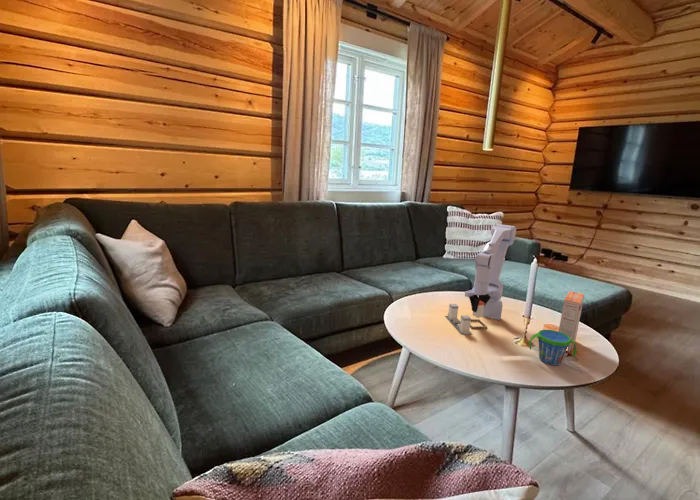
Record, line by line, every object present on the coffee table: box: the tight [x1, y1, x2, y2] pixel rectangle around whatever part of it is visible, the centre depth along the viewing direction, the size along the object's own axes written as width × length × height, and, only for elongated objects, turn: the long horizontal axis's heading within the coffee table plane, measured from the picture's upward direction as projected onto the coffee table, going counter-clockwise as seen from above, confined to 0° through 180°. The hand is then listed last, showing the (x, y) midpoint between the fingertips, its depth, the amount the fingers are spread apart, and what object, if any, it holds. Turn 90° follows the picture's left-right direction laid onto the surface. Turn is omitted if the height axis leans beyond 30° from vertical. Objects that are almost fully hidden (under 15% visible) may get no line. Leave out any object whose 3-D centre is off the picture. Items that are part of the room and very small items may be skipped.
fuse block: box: [444, 315, 473, 336], centre depth 165 cm, size 5×19×2 cm, turn 7°
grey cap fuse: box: [447, 303, 459, 320], centre depth 170 cm, size 3×3×6 cm
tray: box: [470, 318, 488, 330], centre depth 166 cm, size 7×8×2 cm
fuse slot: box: [459, 315, 472, 333], centre depth 158 cm, size 3×3×6 cm
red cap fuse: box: [472, 301, 485, 319], centre depth 164 cm, size 3×3×6 cm
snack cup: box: [528, 329, 578, 366], centre depth 140 cm, size 16×10×10 cm
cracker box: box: [558, 290, 585, 354], centre depth 152 cm, size 14×6×21 cm, turn 144°
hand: (477, 310), depth 164 cm, fingers closed on red cap fuse, 3 cm apart
